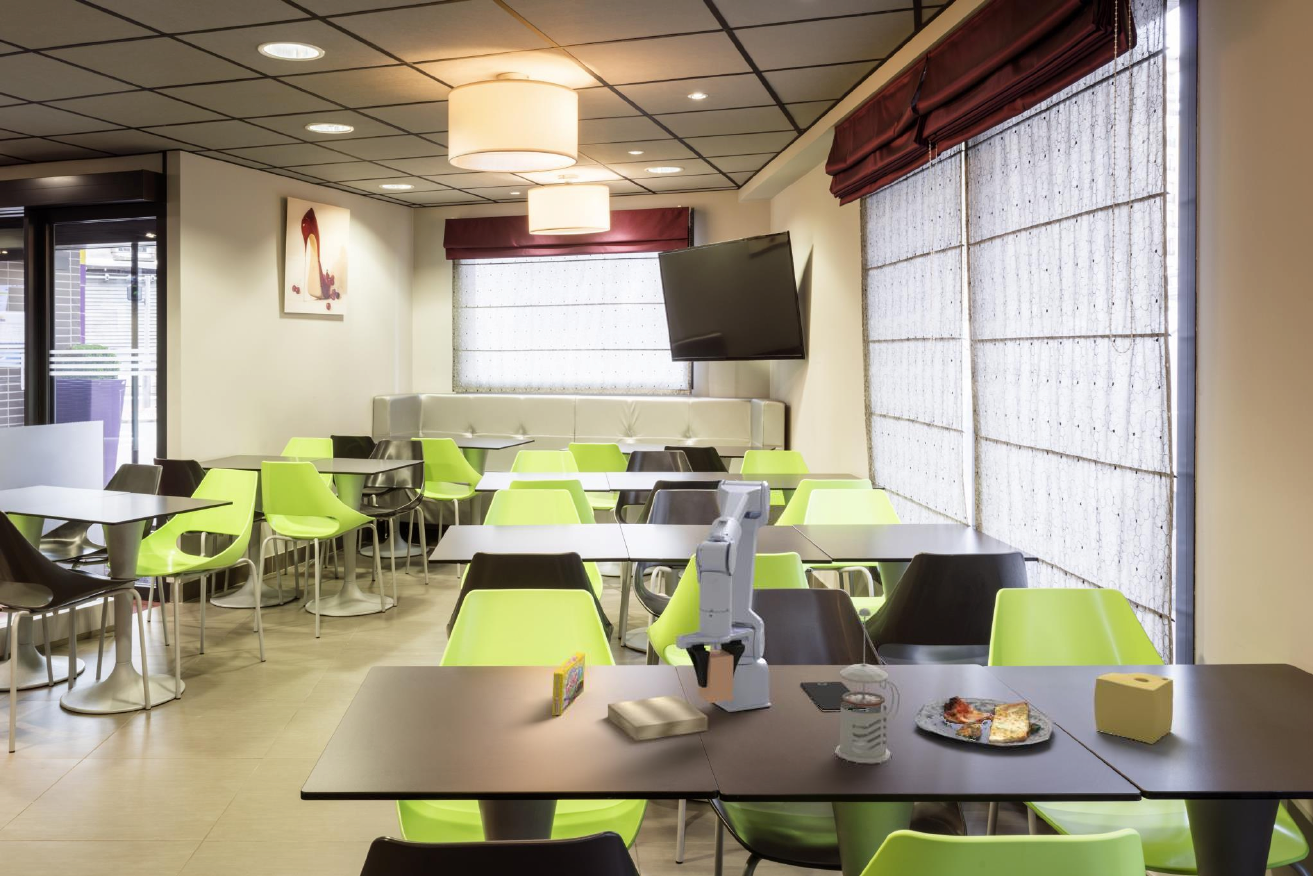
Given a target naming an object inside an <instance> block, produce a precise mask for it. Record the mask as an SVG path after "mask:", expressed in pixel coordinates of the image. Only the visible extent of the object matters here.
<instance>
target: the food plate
mask: <svg viewBox="0 0 1313 876" xmlns="http://www.w3.org/2000/svg"><path fill="white" fill-rule="evenodd" d="M984 713H990V715H989V714H984ZM991 714H992V715H994V716H992V715H991ZM934 715H939V716H940V717H941V716H943V717H944V719H946V722H949V723H954V724H963V726H962V727H961V728H960V729H959V730H958V731H957V730H956V733H955V736H954V735H952V734H948V733H946V732H944V731H943V730H941V729H940V728H937V727H936V726H935V725H934V724H935V723H934V721H932V722H933V724H930V723H929V722H930V721H928V720H927V719H928V718H930V719H932V717H933V716H934ZM937 719H939V717H937ZM984 720H991V722H992V725H991V726H990V735H989V736H990V737H989V739H988V740H989V742H988V741H982V740H981V741H980V740H978V739H979V738H978V737H980V736H981V735H980V734H982V733H981V727H980V725H975V724H982V722H983V721H984ZM914 722H915V724H916V725H917V726H918V727H920V728H921V729H923V730H925V731H928V732H933V733H935V734H939V735H942V736H944V737H947V738H948V739H949V738H952V739H955V740H959V739H961V740H959V741H962V740H967V741H970V742H969V743H973V742H974V744H979V743H982V744H981V745H983V744H984V745H987V744H990V745H991V746H996V745H999V746H998V747H1006V748H1009V747H1010V746H1012V747H1013V748H1016V747H1015V746H1017V747H1018V746H1021V745H1023V746H1024V745H1031V744H1035V743H1036V744H1037V743H1040V742H1044V741H1046V740H1049V739H1050V737H1051V734H1052V732H1053V728H1054V724H1055V722H1054V721H1053V720H1052V719H1051V718H1050V717H1048V716H1046V715H1045V714H1043V713H1040V712H1039V711H1036V710H1035V709H1033V708H1030V705H1029V703H1028V702H1026V701H1023V702H1022V701H1021V702H1013V703H1012V702H1006V701H999V700H994V699H990V698H989V699H987V698H977V697H967V698H966V697H960V698H959V696H958V695H955V696H953V697H950V698H944V699H941V700H936V701H935V700H933V701H932V702H930V703H925V704H923V706H922V707H921V708H920V710H919V712H918V713H917V714H916V716H915V718H914ZM940 730H941V731H940ZM956 735H958V736H962V737H963V738H959V737H956ZM967 738H968V739H967ZM977 738H978V739H977ZM970 739H973V740H976V739H977V740H978V741H977V740H976V741H973V740H970ZM979 745H980V744H979ZM1012 747H1011V748H1012Z"/></svg>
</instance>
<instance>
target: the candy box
mask: <svg viewBox="0 0 1313 876" xmlns="http://www.w3.org/2000/svg"><path fill="white" fill-rule="evenodd" d="M585 657H586V653H584V652H578V651H577V652H576V653H574V655H572V656H571V657H570V658H569V659H568V660H567V661H565V662H564V663H563V664H562V665H561V666H560V667H558V669H556V670H555V671H554V672H553V682H552V683H553V686H552V709H551V715H552V716H555V715H560V716H561V715H562V714H564V712H565V711H566V710H567V709H568V708H569V707H570V706H571V705H572V704H573V703H574V702H576V700H577V699H578V698H579V697H580V696H581V695H582V693H584V692H585V691H584V689H585V667H586V666H585V665H586V663H585V662H586V658H585ZM578 696H579V697H578ZM577 697H578V698H577ZM576 698H577V699H576ZM575 699H576V700H575Z"/></svg>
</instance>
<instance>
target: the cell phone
mask: <svg viewBox="0 0 1313 876" xmlns="http://www.w3.org/2000/svg"><path fill="white" fill-rule="evenodd" d="M799 685H801V686H802V687H803V688H804V689H805V690H806V692H807V693H808V694H809V695H810V696H811V697H812V699H813V700H814V701H815V702H816V703H817V704H818V706H819V707H820V708H821V709H822V710H841V703H842V702H844V700H843V698H842V695H844V694H845V693H848V692H852V691H851V690H850V689H849V688H848V687H847V686H846V684H844V683H843V682H842V681H811V682H809V681H808V682H806V681H805V682H800V683H799ZM801 686H800V687H801ZM802 687H801V688H802ZM803 688H802V689H803ZM804 689H803V690H804ZM805 690H804V691H805ZM806 692H805V693H806ZM807 693H806V694H807ZM808 694H807V695H808ZM809 695H808V696H809ZM810 696H809V697H810ZM812 699H811V700H812ZM813 700H812V701H813ZM814 701H813V702H814ZM815 702H814V703H815ZM816 703H815V704H816ZM818 706H817V707H818ZM819 707H818V708H819ZM820 708H819V709H820ZM821 709H820V710H821ZM853 709H866V708H865V707H863V706H858V705H855V706H852V707H849V708H848V710H853Z"/></svg>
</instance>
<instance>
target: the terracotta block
mask: <svg viewBox="0 0 1313 876" xmlns="http://www.w3.org/2000/svg"><path fill="white" fill-rule="evenodd" d="M708 651H709V652H710V655H709V660H708V667H707V687H705V688H702V687H701V686H699V685H698V696H699V697H700V698H702V699H703V700H704V701H706V702H707V703H708V704H709V703H710V704H715V702H722V701H729V700H733V655H732V654H730V653H728V652H726V651H724V650H722V649H718V650H711V649H710V650H708Z"/></svg>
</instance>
